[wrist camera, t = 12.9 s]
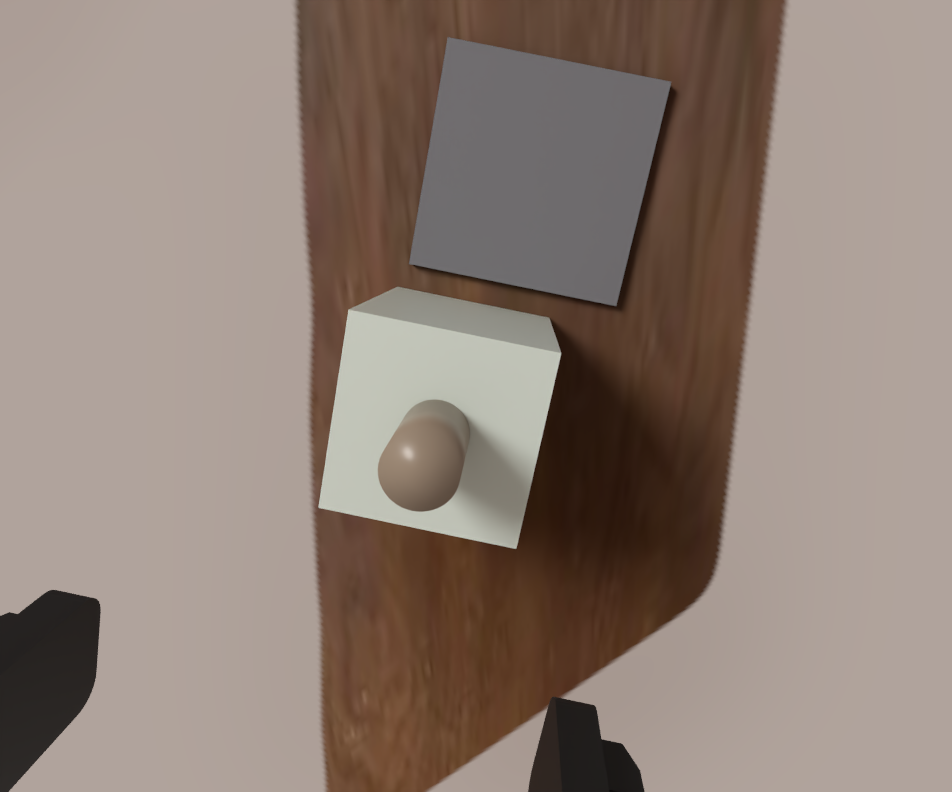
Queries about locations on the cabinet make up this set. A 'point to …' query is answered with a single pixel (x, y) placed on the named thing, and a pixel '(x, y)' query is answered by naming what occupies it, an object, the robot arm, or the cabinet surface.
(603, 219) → the mat
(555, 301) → the cabinet surface
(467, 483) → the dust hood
